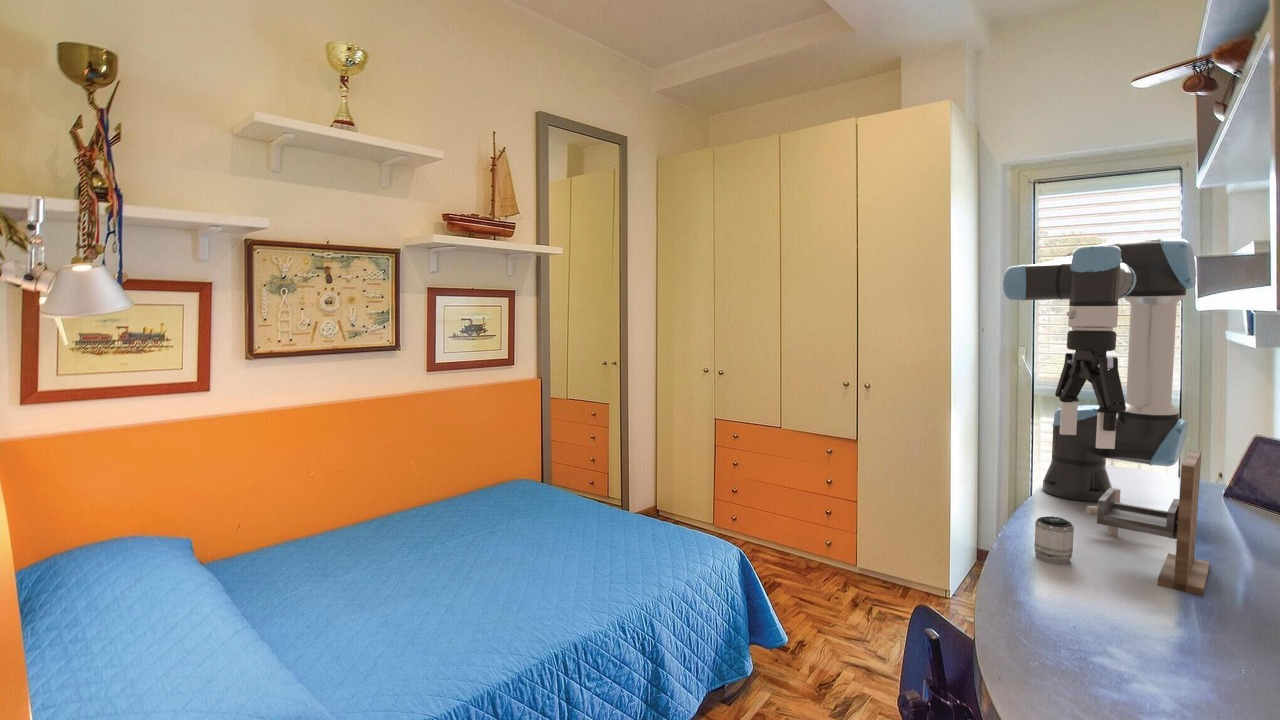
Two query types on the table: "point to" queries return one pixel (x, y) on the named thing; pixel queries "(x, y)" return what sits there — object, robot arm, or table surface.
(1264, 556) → the table surface
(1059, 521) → the camera lens
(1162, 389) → the robot arm
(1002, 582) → the table surface
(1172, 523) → the cup bracket
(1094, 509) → the pipe connector
